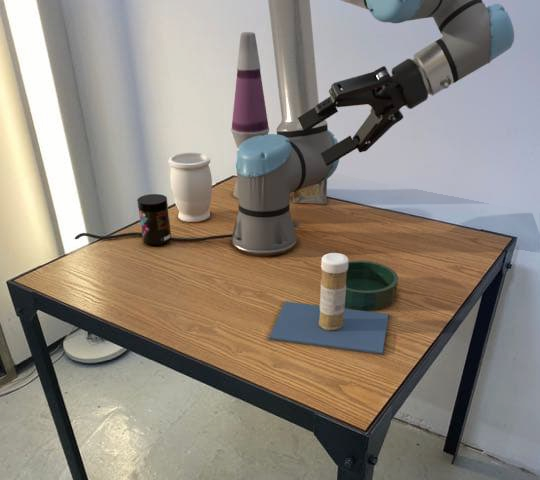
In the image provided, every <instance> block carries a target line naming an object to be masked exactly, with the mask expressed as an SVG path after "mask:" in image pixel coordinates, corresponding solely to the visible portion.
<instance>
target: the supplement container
mask: <svg viewBox="0 0 540 480" xmlns="http://www.w3.org/2000/svg"><path fill="white" fill-rule="evenodd" d="M167 197H168V196H166V195H164V194H159V193H150V194H144V195H141V196H139V197H138V198H137V200H136V201H137V208H138V214H139V220H140V227H141V233H142V235H143V236H142V241H143V243H144V244H145V245H146V246H148V247H151V248H159V247H164V246H167V245H169V244H170V242H172V241H171V238H172V231H171V221H170V213H169V204H168V198H167Z"/></svg>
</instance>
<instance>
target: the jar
mask: <svg viewBox="0 0 540 480" xmlns="http://www.w3.org/2000/svg"><path fill="white" fill-rule="evenodd" d="M167 160H168V162H167V163H168V165H169V166H170V171H169V182H170V188H171V193H172V196H173V199H174V200H173V201H174V204H175V206H176V208H177V210H178V211H179V212H178V214H177V217H178V219H179V220H181V221H182V222H186V223H187V222H188V223H198V222H204V221H206V220H207V219H210V217H211V212H210V211H209V208H210V207H211V202H212V191H213V179H212V178H213V177H212V172H211V167H210V166H209V164H210V163H211V157H210V155H208V154H207V153H202V152H183V153H177V154H174V155H172V156H170V157H168V158H167Z"/></svg>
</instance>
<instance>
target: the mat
mask: <svg viewBox="0 0 540 480" xmlns="http://www.w3.org/2000/svg"><path fill="white" fill-rule="evenodd" d="M389 315H390V314H389V313H385V312H375V311H360V310H352V309H348V308H344V313H343V326H342V328H340V329H338V330H334V331H330V330H325V329H323V328H322V327H320V325H319V320H320V305H317V304H310V303H300V302H293V301H284V303H283V305H282V308H281V310H280V312H279V315H278V316H277V319H276V321H275V323H274V325H273V327H272V329H271V332H270V333H269V334H270V335H269V336H268V340H271V341H272V340H273V341H277V342H278V341H279V342H286V343H293V344H300V345H309V346H310V345H311V346H315V347H324V348H331V349H338V350H345V351H346V350H347V351H353V352H361V353H368V354H374V355H375V354H376V355H383V354H384V347H385V342H386V335H387V328H388V323H389Z"/></svg>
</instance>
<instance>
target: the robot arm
mask: <svg viewBox="0 0 540 480" xmlns="http://www.w3.org/2000/svg"><path fill="white" fill-rule="evenodd" d="M341 2H344V3H348V4H351V5H353V6H356V7H360V8H362V9H365V10H368V11H369V12H370V14H371V16H372V17H373V18H374V19H375V20H377V21H379V22H381V23H390V24H401V23H405V22H408V21H415V20H421V19H428V18H433V20H434V22H435V24H436V26H437V29H438V30H439V33H440V34H441V37H440V38H438V39H437V40H435V41H434V42H431V43H430V44H429V45H427V46H425V47H424V48H422V49H420V50H419V51H417V52H416V53H414V54H413V57H412V58H413V59H412V58H406V59H405V60H403V61H401V62H400V63H398V64H397V65H396V66H394V67H392V68H391V72H390V73H391V74H390V73H389V71H388V69H387V67H386V66H385V65H383V66H381V67H379V68H377V69H375V70H374V71H371V72H367V73H364V74H360V75H357V76H353V77H350V78H346V79H343V80H339V81H336V82H334V83H332V84H331V85H330V88H329V90H328V93H329V97H327V98H325V99H323V100H322V101H320V100H319V90H318V79H317V78H318V77H317V67H316V66H317V65H316V57H315V44H314V35H313V34H314V33H313V21H312V10H311V1H310V0H267V3H268V12H269V20H270V28H271V29H270V30H271V36H272V37H271V38H272V46H273V55H274V62H275V69H276V71H275V72H276V80H277V88H278V96H279V107H280V113H281V115H280V116H281V121H280V123H279V124H278V126H277V127H276V133H268V134H266V135H264V136H262V135H259V136H255V137H252V138H249V139H247V140H245V141H244V142H243V143H241V145H240V146H239V148H237V150H236V163H235V168H236V169H235V170H236V180H237V183H238V198H237V201H238V204H237V205H238V213H237V215H236V216H237V217H236V220H235V224H234V227H233V231H232V233H230V234H221V235H210V236H205V237H191V238H190V237H188V238H186V237H171V241H170V242H204V241H209V240H210V241H211V240H217V239H228V238H231V245H232V247H233V248H234V250H236V251H237V252H238V253H241V254H243V255H246V256H247V255H248V256H252V257H261V258H263V257H275V256H281V255H284V254H287V253H289V252H292V251H293V250H294V249H295V248H296V246H297V244H298V236H297V231H296V229H297V228H300V222H298V221H294V220H293V218H292V215H291V212H290V206H291V205H290V204H291V194H293V192H295V191H298V190H300V189H303V188H306V187H308V186H311V185H316V184H319V183H321V182H322V181H323V180H326V179H327V180H328V179H329V178H330V177H331V176H333V174H334V173H335V172H336V170H337V168H338V166H339V163H340V159H341V158H343V157H345V156H346V155H348V154H350V153H351V152H354V151H356V150H357V151H358V152H359V153H363V152H367V151H368V150H369V149H370V148H371V147H372V146H373V145H375V143H377V141H378V140H380V138H381V137H383V136H384V135H385V134H386V133H387V132H388V131H389V130H390V129H391V128H392V127H393V126H394V125H397V123H398V122H401V120H403V119H404V115H403V113H402V111H401V109H402V108H403V107H406V108H407V109H409V110H411V109H414V108H416V107H418V106H419V105H420V104H422V103H423V102H426V101H427V100H428V98H429V95H430V96H433V97H434V96H435V95H436V94H439V93H441V91H443V90H446V89H449V87H450V86H451V85H453V84H455V83H457V82H458V81H461V80H462V79H464V78H465V77H467V76H469V75H471V74H472V73H475V72H476V71H478V70H479V69H481V68H482V67H484V66H486V65H488V64H490V63H491V62H492V61H494V60H495V59H497V58H498V57H499V56H501V55H502V54H504V53H505V52H507V51H508V50H510V49H511V48H512V46H513V44H514V42H515V30H514V26H513V23H512V20H511V17H510V15H509V13H508V11H506V9H505V7H504V6H503V5H502V4H500V3H494V4H492V5H488V6H486V5H485V3H484V1H483V0H341ZM319 101H320V102H319ZM364 105H365V106H366V105H369V106H370V107H371V109H370V113H369V115H367V118H366V119H365V120H364V122H363V123H362V124H361V126H360V127H359V128H358V130H357V131H356V132H355V134H354V135H353V136H352V135H348V136H347V137H345V138H343V139H342V140H340V141H338V139H337V138H335V134H334V133H333V132H332V131H330V130H329V128H328V127H329V126H328V121H327V119H329V118H330V117H332V116H333V115H335V114H337V113H339V110H338V108H344V107H355V106H364ZM130 236H139V237H143V235H142V232H135V231H134V232H125V233H119V234H113V235H96V234H93V233H88V232H82V233H81V232H80V233H78V234H77V235H76V236H75V237H74V238H73V239H74V240H79V239H80V238H81V237H89V238H92V239H96V240H110V239H111V240H112V239H117V238H118V239H119V238H125V237H130Z"/></svg>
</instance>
